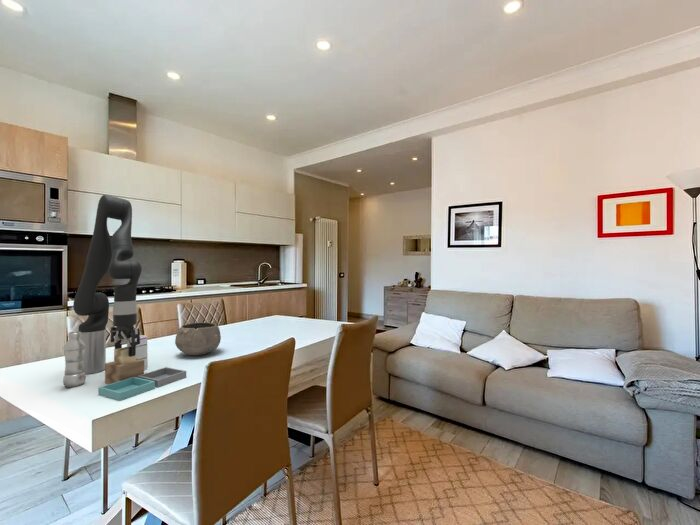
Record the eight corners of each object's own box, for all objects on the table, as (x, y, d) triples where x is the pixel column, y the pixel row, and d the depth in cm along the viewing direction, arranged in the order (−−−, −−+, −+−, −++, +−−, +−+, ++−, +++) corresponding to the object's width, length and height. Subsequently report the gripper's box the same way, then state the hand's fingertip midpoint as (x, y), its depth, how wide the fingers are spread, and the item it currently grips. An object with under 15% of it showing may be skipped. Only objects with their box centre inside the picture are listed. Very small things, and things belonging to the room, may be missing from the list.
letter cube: (114, 362, 125) (114, 349, 125) (127, 359, 129) (127, 346, 129) (122, 364, 123) (122, 350, 123) (135, 360, 127) (135, 347, 127)
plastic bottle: (67, 390, 118) (67, 334, 118) (59, 387, 121) (60, 332, 122) (88, 385, 123) (89, 331, 124) (81, 381, 127) (81, 330, 127)
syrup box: (148, 368, 143) (148, 335, 143) (134, 372, 138) (134, 338, 138) (139, 367, 145) (140, 334, 146) (126, 370, 140) (126, 336, 140)
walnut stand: (104, 384, 124) (105, 363, 124) (129, 377, 132) (129, 357, 132) (119, 388, 120) (119, 366, 120) (144, 380, 128) (144, 360, 128)
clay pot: (217, 347, 181) (217, 319, 181) (224, 355, 163) (224, 325, 163) (173, 352, 170) (173, 323, 170) (176, 362, 152) (176, 330, 152)
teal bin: (98, 396, 113) (98, 387, 113) (133, 384, 124) (133, 376, 124) (119, 402, 108) (119, 393, 108) (154, 389, 119) (154, 381, 119)
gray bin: (136, 383, 124) (136, 376, 124) (165, 374, 135) (165, 367, 135) (157, 388, 119) (157, 380, 119) (186, 378, 130) (186, 370, 130)
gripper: (146, 312, 127) (146, 354, 126) (123, 310, 133) (123, 350, 132) (126, 315, 120) (126, 359, 120) (103, 312, 126) (103, 355, 126)
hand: (124, 354), depth 126 cm, fingers open, 8 cm apart
